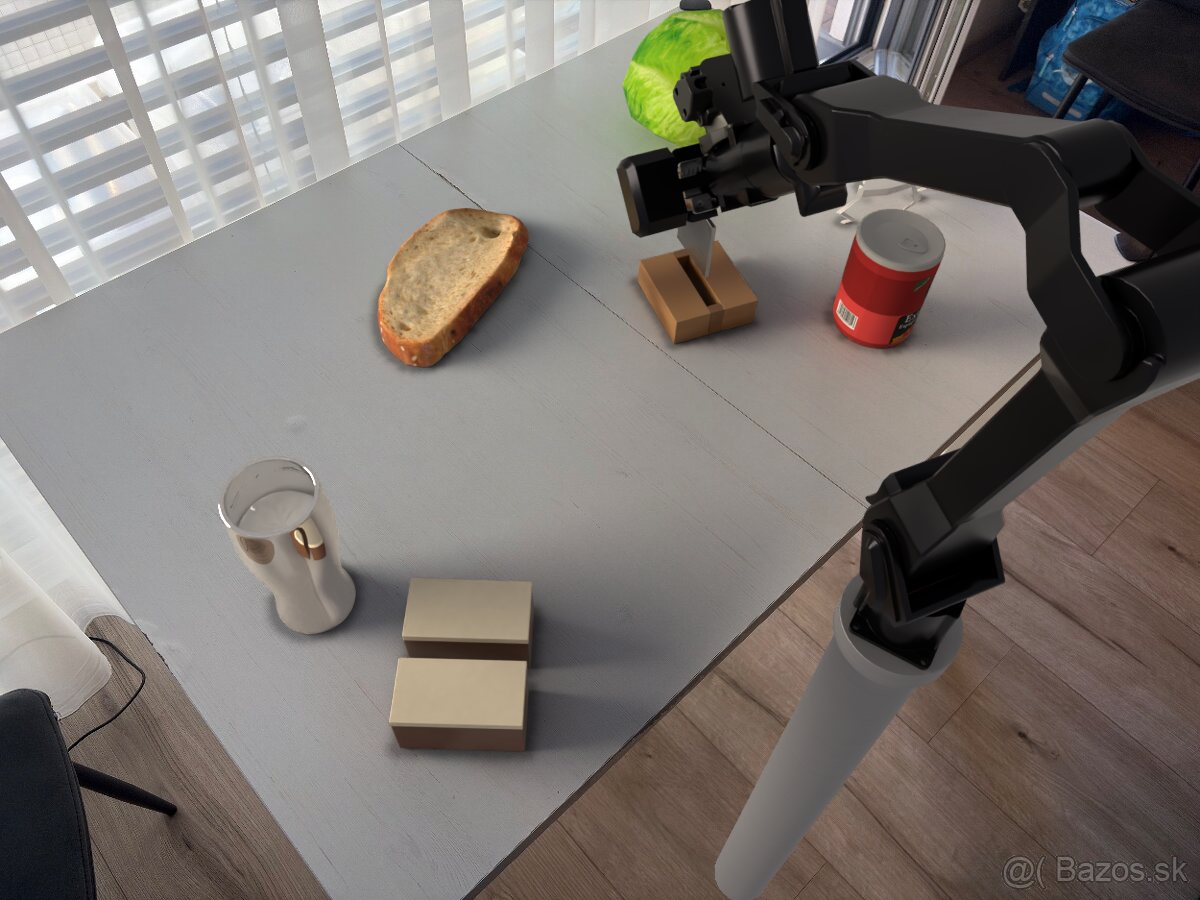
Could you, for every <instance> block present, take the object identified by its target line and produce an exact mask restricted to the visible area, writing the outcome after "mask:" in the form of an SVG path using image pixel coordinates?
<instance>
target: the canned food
mask: <svg viewBox="0 0 1200 900" xmlns="http://www.w3.org/2000/svg"><path fill="white" fill-rule="evenodd" d="M946 245H947V244H946V239H945V236H944V234H943V233H942V231H941V230H940V228H939V227H938V226H936V224H935V223H933V221H931V220H929V219H928V218H926V217H924V216H923V215H920V214H919V213H915V212H913V211H909V210H907V209H906V210H902V209H900V208H899V209H898V208H883V209H878V210H875V211H872V212H870V213H868V214H867V215H865V216H864V217H863V218H861V221H859V224H858V226H857V227H856V231H855V234H854V237H853V239H852V243H851V246H850V249H849V253H848V257H847V259H846V263H845V265H844V269H843V272H842V276H841V279H840V282H839V285H838V289H837V292H836V295H835V299H834V302H833V305H832V315H833V321H834V324H835V326H836V327H837V329H838V330H839V332H840V333H841V334H843V336H845V337H846V338H847V339H849V340H850V341H852V342H854V343H855V344H858V345H860V346H864V347H867V348H873V349H888V348H892V347H895V346H897V345H899V344H901V343H902V342H903V341H904V340H906V338H908V336H909V335H910V334H911V333H912V331H913V329H914V327H915V324H916V322H917V320H918V317H919V315H920V313H921V310H922V308H923V306H924V303H925V301H926V299H927V297H928V294H929V292H930V289H931V288H932V285H933V283H934V280H935V278H936V275H937V273H938V270H939V268H940V266H941V263H942V260H943V259H944V255H945V251H946Z"/></svg>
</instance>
